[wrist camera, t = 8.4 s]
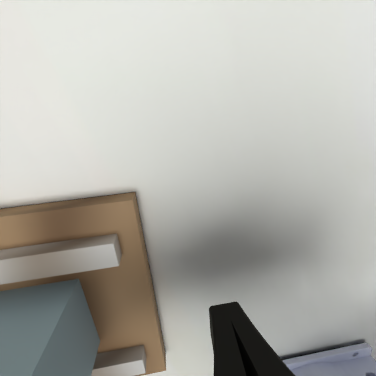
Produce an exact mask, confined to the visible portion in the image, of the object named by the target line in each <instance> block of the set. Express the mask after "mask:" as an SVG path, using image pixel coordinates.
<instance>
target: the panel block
mask: <svg viewBox="0 0 376 376" xmlns="http://www.w3.org/2000/svg"><path fill="white" fill-rule="evenodd" d="M99 344H100V339H99V336H98V333H97V330H96V327H95V324H94V321H93V318H92V316H91V313H90V310H89V307H88V304H87V301H86V298H85V295H84V292H83V289H82V286H81V284H80V281H79V279H74V280H68V281H62V282H55V283H49V284H43V285H37V286H30V287H24V288H18V289H11V290H5V291H0V376H91V374H92V370H93V367H94V363H95V359H96V355H97V351H98V347H99Z"/></svg>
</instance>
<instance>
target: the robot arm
mask: <svg viewBox="0 0 376 376" xmlns="http://www.w3.org/2000/svg"><path fill="white" fill-rule="evenodd" d="M209 315H210V330H211V338H212V344H213V351H214V376H376V361H375V360H374V359H373V358H372V356H371V353H372V348H371V346H370V345H369V344H368V343H361V344H356V345H351V346H347V347H342V348H337V349H333V350H328V351H323V352H319V353H314V354H309V355H304V356H300V357H295V358H290V359H286V360H281V359H280V357H279V356H278V355H277V354H276V353H275V352H274V350H273V349H272V348H271V347H270V345H269V344H268V343H267V342H266V340H265V339H264V338H263V337H262V335H261V334H260V333H259V332H258V330H257V329H256V328H255V326H254V325H253V323H252V322H251V321H250V319H249V318H248V317H247V315H246V314H245V312H244V311H243V309H242V308H241V306H240V305H239V303H238V302H231V303H226V304H220V305H215V306H211V307H210V308H209Z"/></svg>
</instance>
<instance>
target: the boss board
mask: <svg viewBox="0 0 376 376" xmlns="http://www.w3.org/2000/svg"><path fill="white" fill-rule="evenodd" d="M74 279H79V281H80V284H81V286H82V289H83V292H84V295H85V298H86V301H87V304H88V307H89V310H90V313H91V316H92V318H93V321H94V324H95V327H96V330H97V333H98V336H99V339H100V344H99V347H98V351H97V355H96V359H95V363H94V367H93V370H92V374H91V376H141V375H146V374H151V373H156V372H161V371H166V354H165V348H164V343H163V338H162V332H161V327H160V322H159V316H158V311H157V306H156V300H155V295H154V290H153V284H152V279H151V274H150V268H149V263H148V258H147V252H146V247H145V242H144V236H143V231H142V226H141V220H140V215H139V210H138V204H137V199H136V194H135V192H132V193H124V194H116V195H108V196H100V197H92V198H84V199H76V200H68V201H60V202H52V203H44V204H36V205H28V206H20V207H12V208H4V209H0V291H5V290H11V289H18V288H24V287H30V286H37V285H43V284H49V283H55V282H62V281H68V280H74Z"/></svg>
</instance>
